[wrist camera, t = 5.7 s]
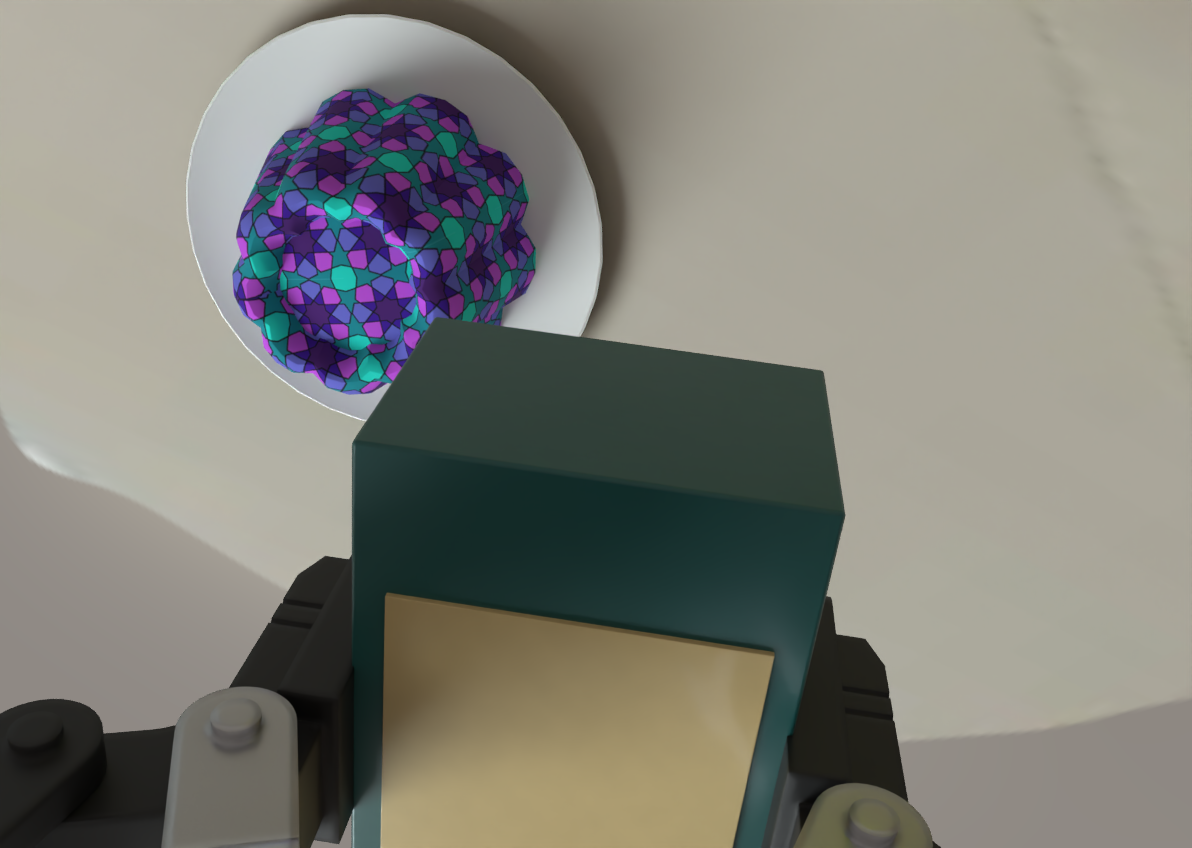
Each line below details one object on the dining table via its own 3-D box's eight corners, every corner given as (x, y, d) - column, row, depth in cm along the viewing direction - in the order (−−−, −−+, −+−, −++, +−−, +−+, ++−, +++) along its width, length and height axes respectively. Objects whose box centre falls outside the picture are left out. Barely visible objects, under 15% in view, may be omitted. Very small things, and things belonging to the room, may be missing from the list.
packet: (824, 369, 14) (847, 517, 11) (726, 827, 18) (723, 1037, 15) (434, 314, 15) (348, 444, 11) (417, 776, 18) (348, 971, 15)
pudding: (148, 31, 31) (39, 64, 26) (581, -12, 29) (547, 15, 24) (252, 424, 36) (178, 509, 32) (625, 410, 34) (604, 498, 30)
